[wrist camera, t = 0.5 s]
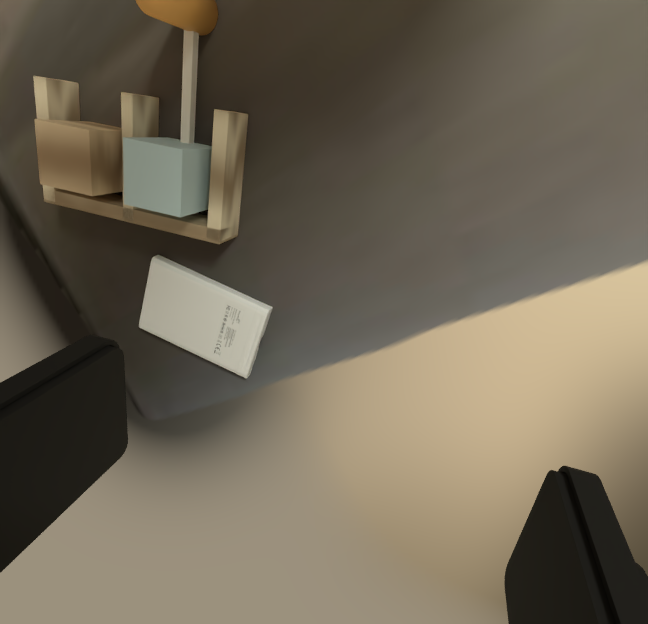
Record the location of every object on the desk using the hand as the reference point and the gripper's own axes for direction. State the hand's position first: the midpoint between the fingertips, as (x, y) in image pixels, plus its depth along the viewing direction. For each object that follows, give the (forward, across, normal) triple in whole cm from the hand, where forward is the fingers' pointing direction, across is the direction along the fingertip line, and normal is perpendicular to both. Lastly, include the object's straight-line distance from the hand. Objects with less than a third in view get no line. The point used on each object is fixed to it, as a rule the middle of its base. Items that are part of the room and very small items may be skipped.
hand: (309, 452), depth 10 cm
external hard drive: (+30, +18, +13) cm, 37 cm away
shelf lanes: (+29, +24, -1) cm, 38 cm away
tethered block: (+29, +20, -6) cm, 36 cm away
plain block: (+29, +28, -1) cm, 40 cm away
